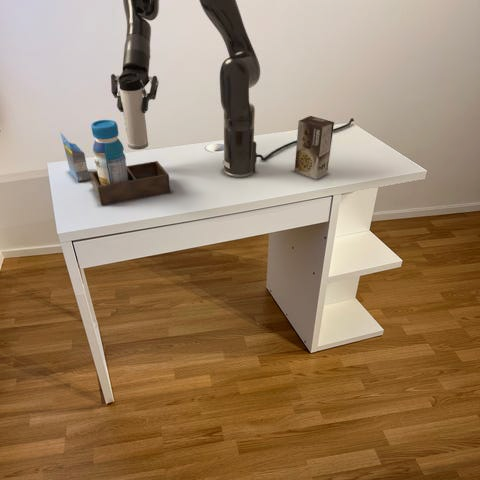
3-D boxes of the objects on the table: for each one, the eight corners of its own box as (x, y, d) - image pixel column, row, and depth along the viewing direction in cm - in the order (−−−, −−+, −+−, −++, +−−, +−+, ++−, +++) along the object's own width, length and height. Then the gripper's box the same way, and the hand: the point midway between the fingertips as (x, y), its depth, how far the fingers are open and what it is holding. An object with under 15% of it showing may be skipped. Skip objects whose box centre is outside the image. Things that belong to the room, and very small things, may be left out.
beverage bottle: (127, 200, 131) (116, 129, 118) (98, 200, 131) (83, 128, 118) (133, 187, 138) (123, 118, 125) (105, 187, 138) (92, 118, 125)
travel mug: (150, 142, 145) (143, 72, 132) (145, 150, 140) (136, 78, 127) (131, 141, 146) (121, 71, 132) (125, 149, 141) (114, 77, 128)
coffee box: (328, 174, 147) (335, 121, 137) (316, 180, 144) (323, 127, 133) (305, 165, 152) (310, 114, 141) (293, 171, 148) (298, 119, 138)
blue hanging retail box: (90, 179, 142) (82, 139, 134) (77, 182, 140) (68, 141, 132) (81, 169, 147) (72, 130, 139) (69, 172, 146) (59, 132, 138)
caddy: (159, 178, 143) (157, 160, 140) (170, 192, 136) (168, 174, 132) (93, 189, 137) (89, 171, 133) (101, 205, 129) (97, 187, 125)
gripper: (108, 47, 132) (103, 103, 131) (158, 49, 132) (153, 105, 131) (116, 63, 140) (112, 116, 139) (163, 65, 139) (159, 118, 138)
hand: (132, 111), depth 135 cm, fingers closed on travel mug, 6 cm apart
